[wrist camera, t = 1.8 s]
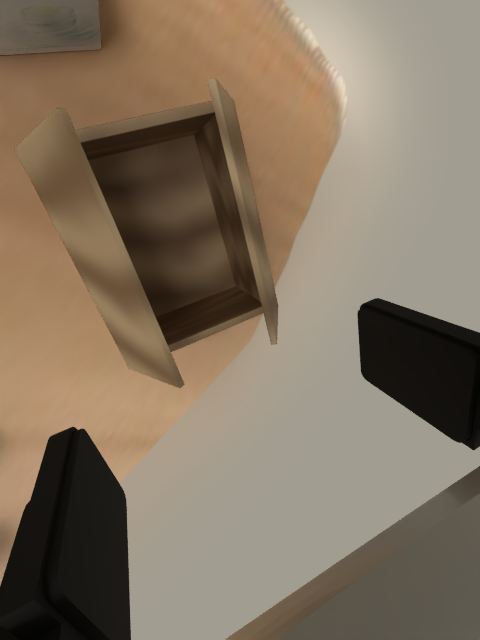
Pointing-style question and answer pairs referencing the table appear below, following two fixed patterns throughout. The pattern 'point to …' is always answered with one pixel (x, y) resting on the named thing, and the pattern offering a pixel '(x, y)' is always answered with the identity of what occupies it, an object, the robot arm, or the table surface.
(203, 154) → the carton
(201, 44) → the table surface
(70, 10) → the skincare box
